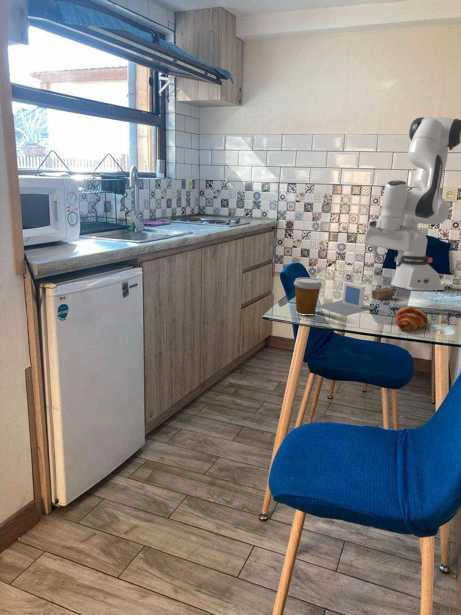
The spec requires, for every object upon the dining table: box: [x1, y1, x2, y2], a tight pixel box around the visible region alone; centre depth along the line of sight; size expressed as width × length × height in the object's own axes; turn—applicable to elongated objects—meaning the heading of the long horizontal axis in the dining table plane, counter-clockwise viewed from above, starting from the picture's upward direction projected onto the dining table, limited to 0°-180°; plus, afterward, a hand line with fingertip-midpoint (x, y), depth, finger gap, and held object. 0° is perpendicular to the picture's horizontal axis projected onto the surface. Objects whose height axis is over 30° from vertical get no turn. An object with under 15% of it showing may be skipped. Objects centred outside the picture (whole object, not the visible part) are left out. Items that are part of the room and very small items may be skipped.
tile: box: [342, 281, 366, 308], centre depth 187 cm, size 2×8×8 cm, turn 40°
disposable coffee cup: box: [293, 276, 323, 315], centre depth 176 cm, size 10×10×12 cm
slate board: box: [316, 299, 376, 317], centre depth 186 cm, size 18×14×1 cm
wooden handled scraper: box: [371, 287, 394, 301], centre depth 200 cm, size 7×18×4 cm, turn 130°
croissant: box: [395, 306, 429, 331], centre depth 170 cm, size 21×10×8 cm, turn 149°
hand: (386, 259), depth 198 cm, fingers open, 8 cm apart
